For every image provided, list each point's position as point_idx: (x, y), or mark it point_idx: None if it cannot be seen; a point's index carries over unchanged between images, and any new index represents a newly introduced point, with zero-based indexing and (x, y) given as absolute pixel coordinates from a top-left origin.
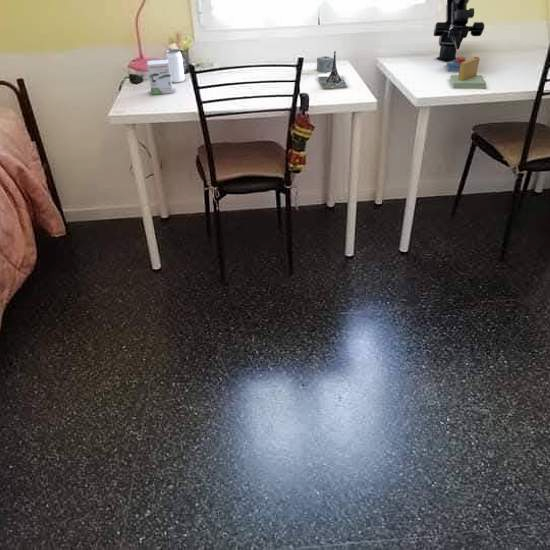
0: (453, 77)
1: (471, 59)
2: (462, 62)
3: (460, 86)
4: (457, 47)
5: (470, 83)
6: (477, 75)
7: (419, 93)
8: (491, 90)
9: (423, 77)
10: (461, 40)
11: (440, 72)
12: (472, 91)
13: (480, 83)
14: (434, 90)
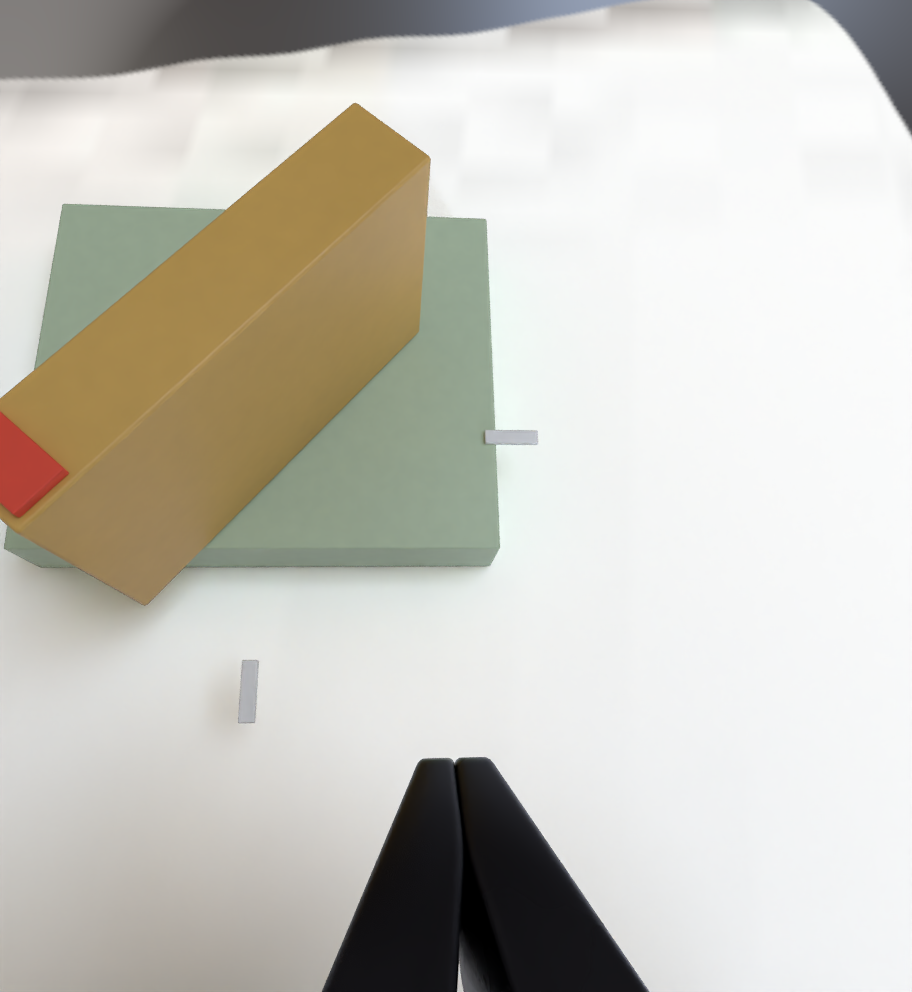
0: (470, 429)
1: (165, 347)
2: (398, 164)
3: None
4: (481, 767)
5: None
6: None
7: (838, 113)
8: (30, 187)
9: (861, 678)
10: (347, 980)
11: None
12: (269, 160)
13: (138, 209)
14: (691, 192)
